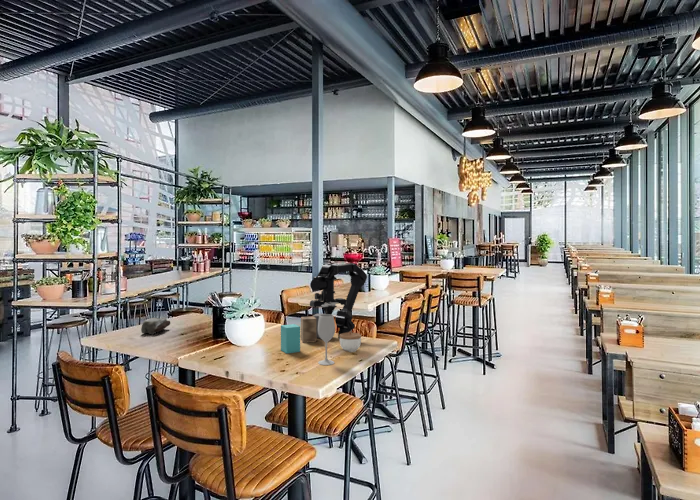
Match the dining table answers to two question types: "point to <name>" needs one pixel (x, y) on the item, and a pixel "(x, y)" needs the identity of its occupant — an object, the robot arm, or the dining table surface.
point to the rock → (154, 325)
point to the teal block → (290, 338)
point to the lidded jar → (350, 341)
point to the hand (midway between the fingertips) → (328, 319)
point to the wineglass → (326, 333)
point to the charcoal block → (317, 324)
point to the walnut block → (308, 329)
